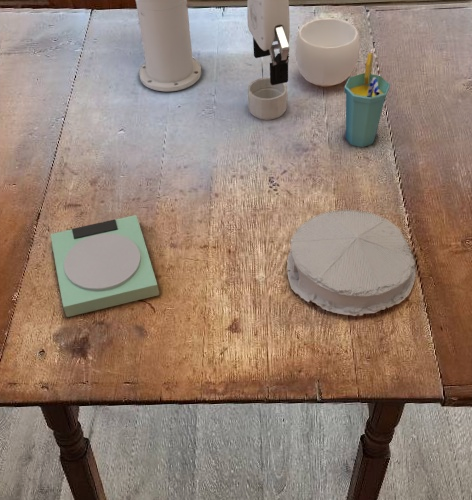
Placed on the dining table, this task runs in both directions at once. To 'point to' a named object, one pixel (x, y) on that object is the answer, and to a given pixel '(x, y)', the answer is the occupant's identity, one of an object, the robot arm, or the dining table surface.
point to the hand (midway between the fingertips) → (270, 69)
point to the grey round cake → (350, 262)
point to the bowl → (267, 99)
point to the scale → (103, 265)
